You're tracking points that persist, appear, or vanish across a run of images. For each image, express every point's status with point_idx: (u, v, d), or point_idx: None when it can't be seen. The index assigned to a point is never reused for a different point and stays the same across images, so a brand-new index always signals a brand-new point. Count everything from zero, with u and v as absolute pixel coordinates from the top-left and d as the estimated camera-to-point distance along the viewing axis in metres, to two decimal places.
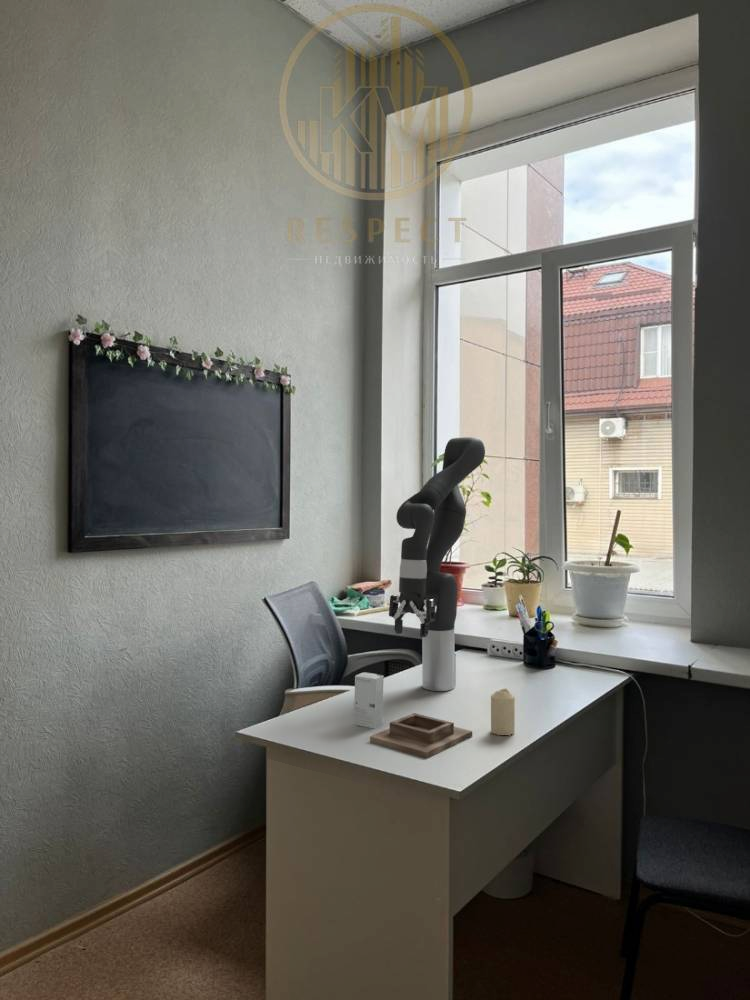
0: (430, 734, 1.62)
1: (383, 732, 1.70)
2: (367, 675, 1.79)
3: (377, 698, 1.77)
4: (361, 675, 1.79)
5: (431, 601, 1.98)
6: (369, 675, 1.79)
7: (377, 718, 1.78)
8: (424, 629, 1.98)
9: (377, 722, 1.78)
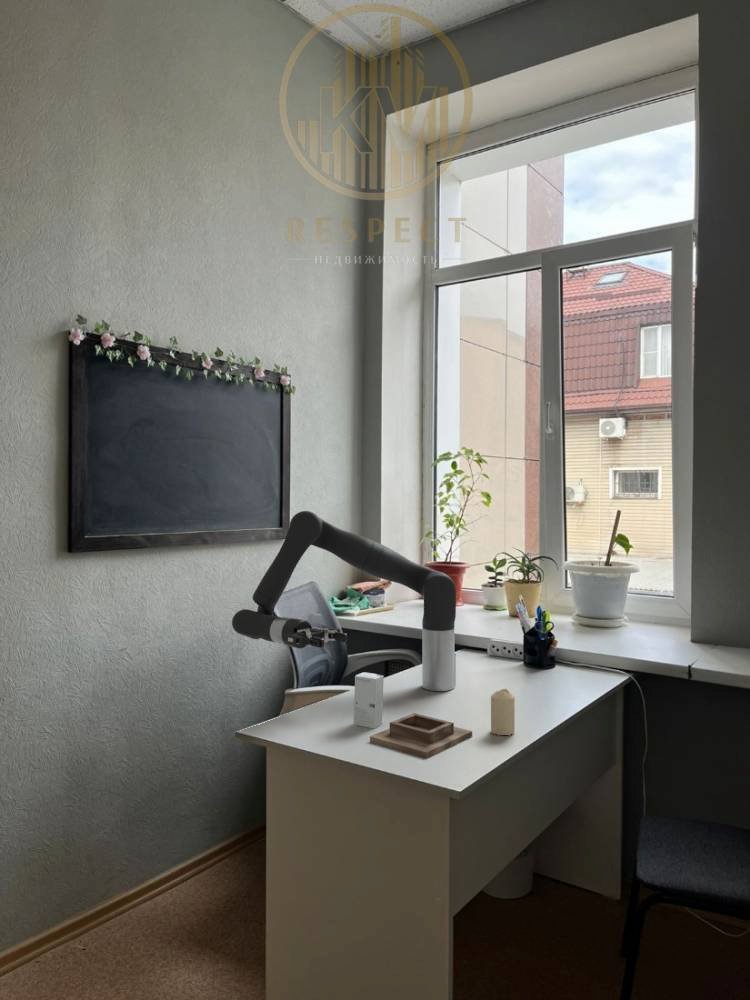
0: (430, 734, 1.62)
1: (383, 732, 1.70)
2: (367, 675, 1.79)
3: (377, 698, 1.77)
4: (361, 675, 1.79)
5: (288, 640, 1.88)
6: (369, 675, 1.79)
7: (377, 718, 1.78)
8: None
9: (377, 722, 1.78)
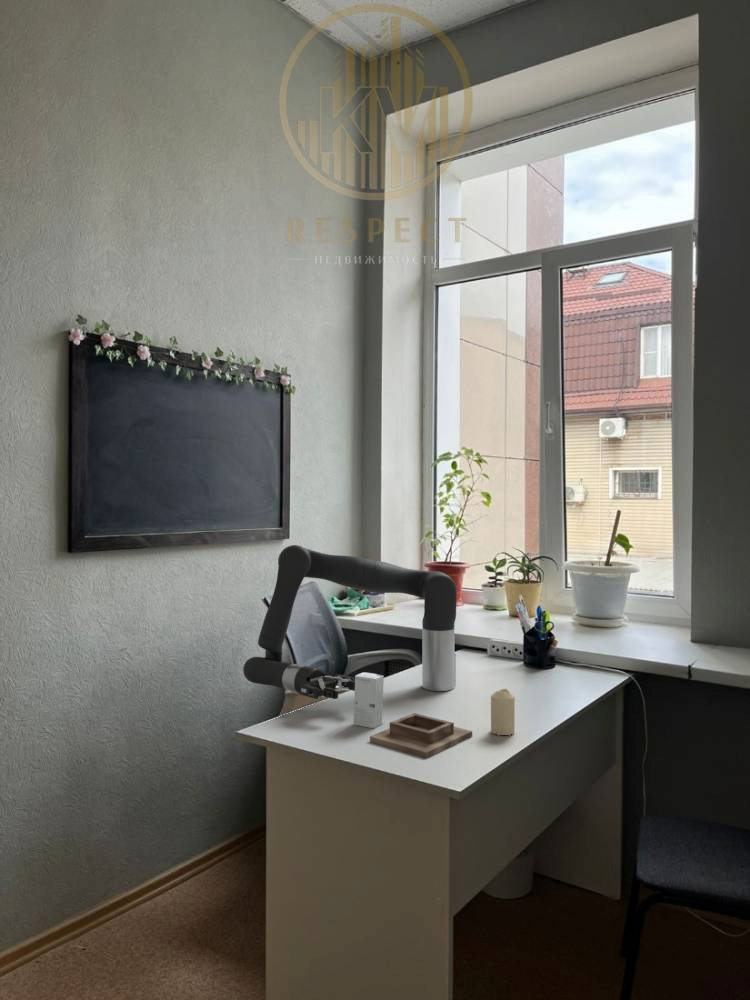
0: (430, 734, 1.62)
1: (383, 732, 1.70)
2: (367, 675, 1.79)
3: (377, 698, 1.77)
4: (361, 675, 1.79)
5: (301, 691, 1.85)
6: (369, 675, 1.79)
7: (377, 718, 1.78)
8: None
9: (377, 722, 1.78)
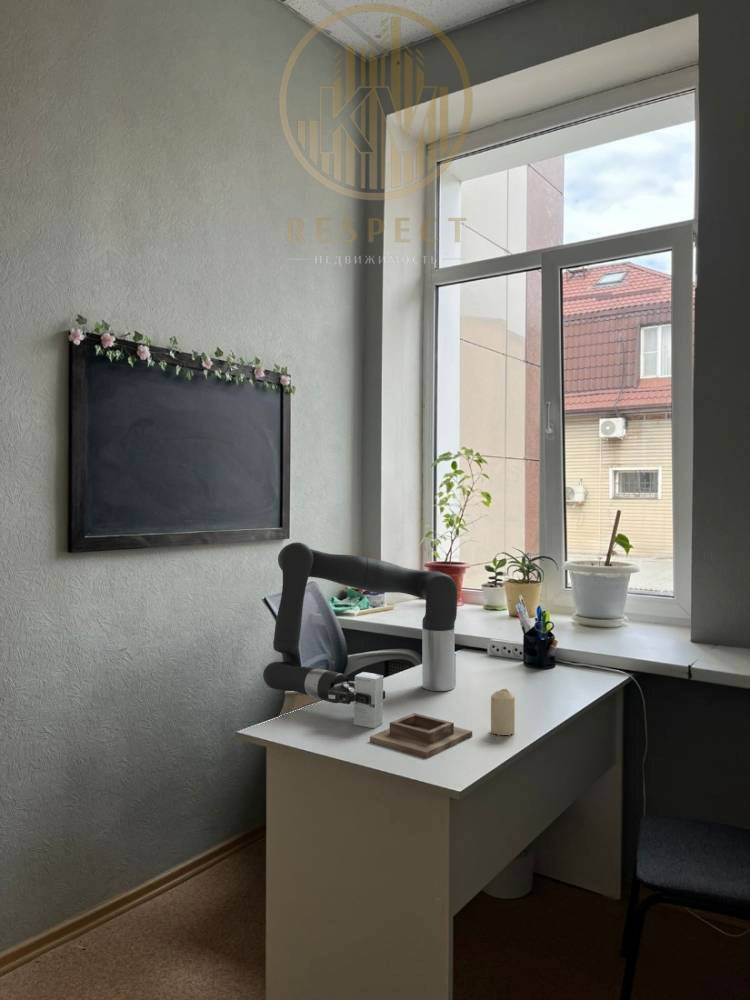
0: (430, 734, 1.62)
1: (383, 732, 1.70)
2: (367, 675, 1.79)
3: (376, 698, 1.77)
4: (361, 675, 1.79)
5: (329, 698, 1.79)
6: (369, 675, 1.79)
7: (377, 718, 1.78)
8: None
9: (377, 722, 1.78)
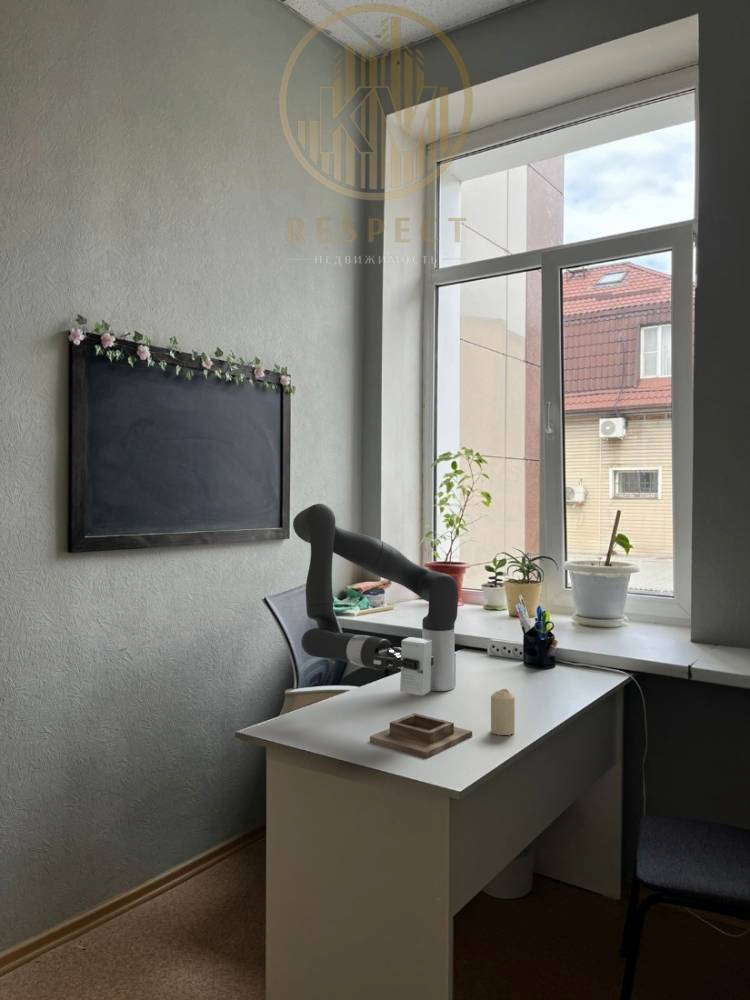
0: (430, 734, 1.62)
1: (383, 732, 1.70)
2: (415, 639, 1.69)
3: (425, 664, 1.67)
4: (408, 640, 1.69)
5: (374, 663, 1.69)
6: (416, 640, 1.69)
7: (425, 685, 1.68)
8: None
9: (425, 689, 1.68)
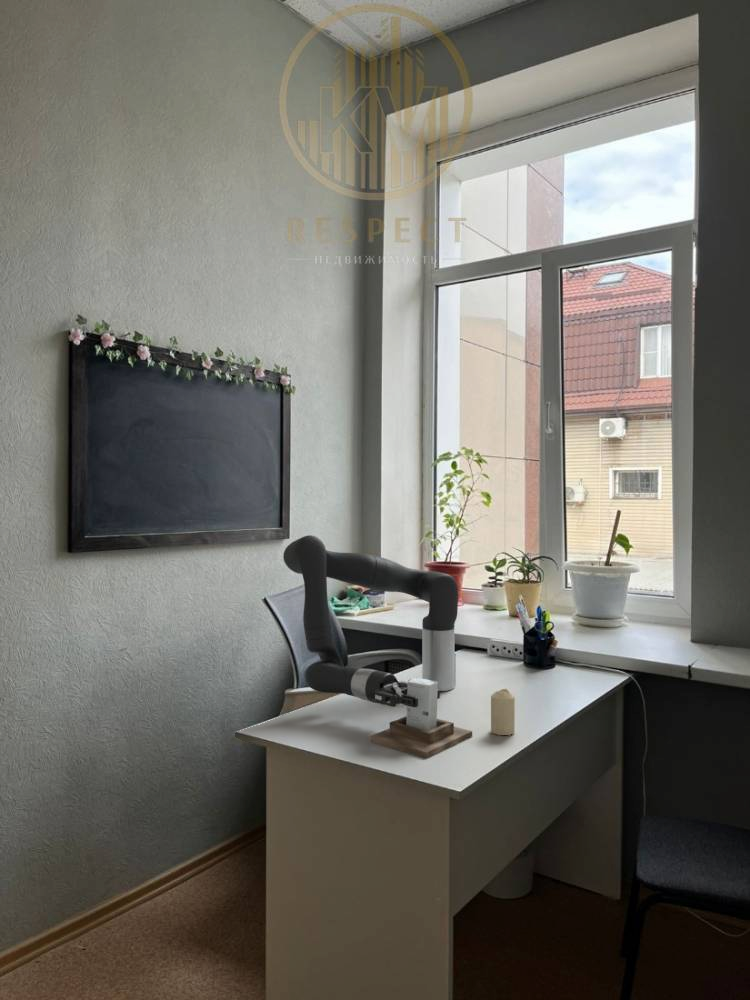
0: (430, 734, 1.62)
1: (383, 732, 1.70)
2: (421, 681, 1.69)
3: (430, 706, 1.67)
4: (414, 681, 1.69)
5: (376, 698, 1.69)
6: (422, 681, 1.69)
7: (431, 727, 1.68)
8: None
9: None
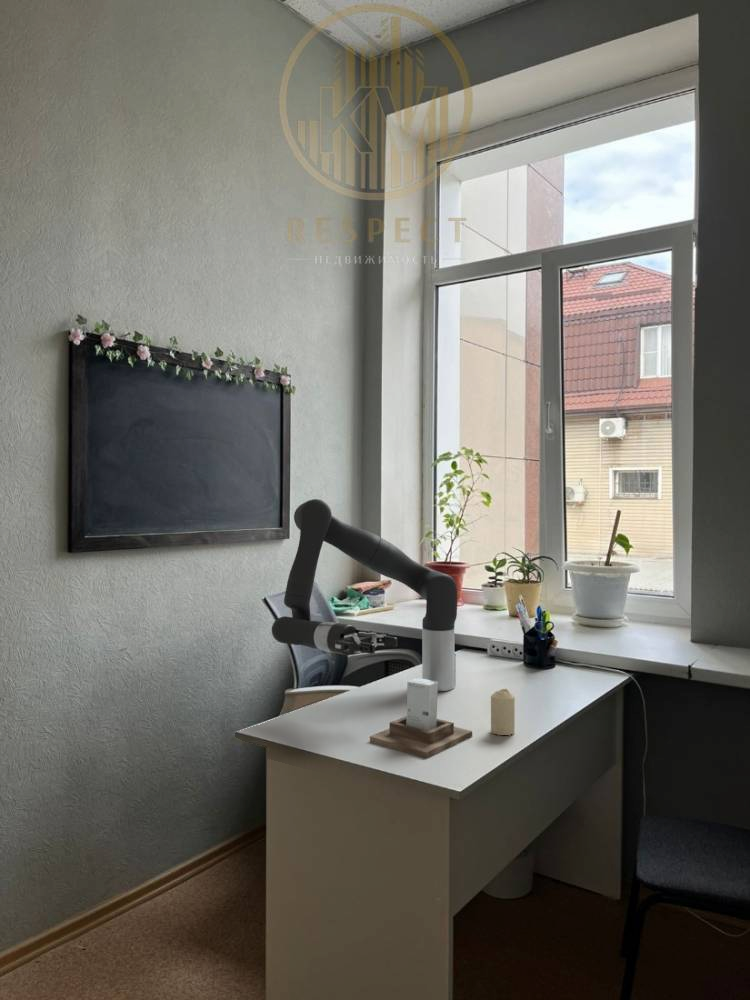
0: (430, 734, 1.62)
1: (383, 732, 1.70)
2: (421, 681, 1.69)
3: (430, 706, 1.67)
4: (414, 681, 1.69)
5: (335, 647, 1.77)
6: (422, 681, 1.69)
7: (431, 727, 1.68)
8: None
9: None
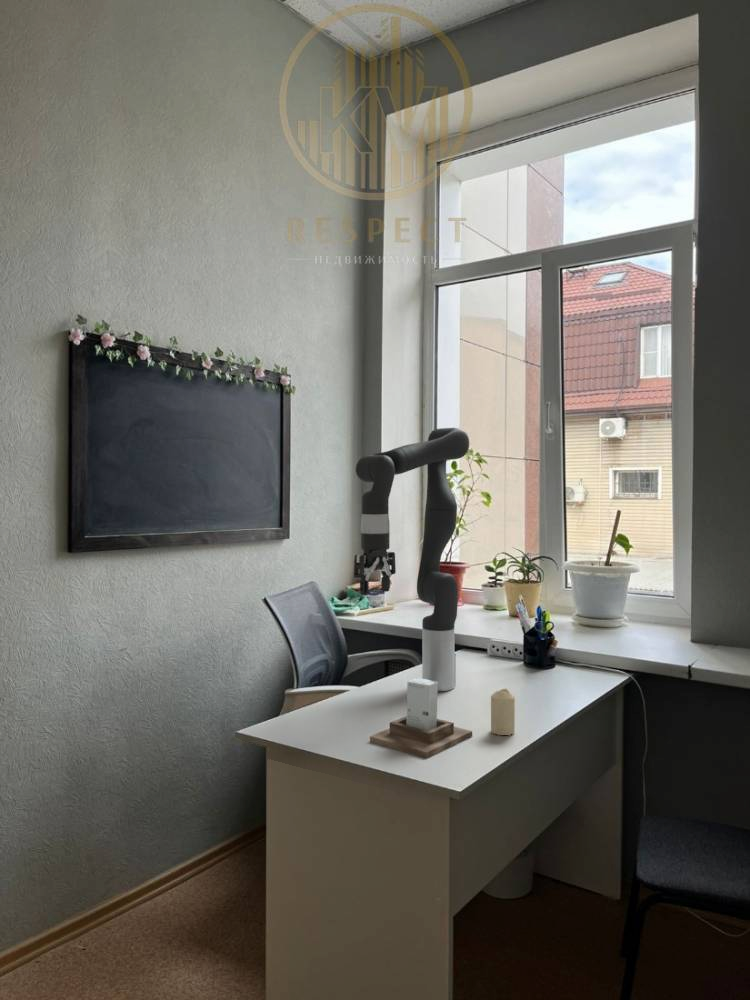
0: (430, 734, 1.62)
1: (383, 732, 1.70)
2: (421, 681, 1.69)
3: (430, 706, 1.67)
4: (414, 681, 1.69)
5: (357, 557, 1.88)
6: (422, 681, 1.69)
7: (431, 727, 1.68)
8: None
9: None
